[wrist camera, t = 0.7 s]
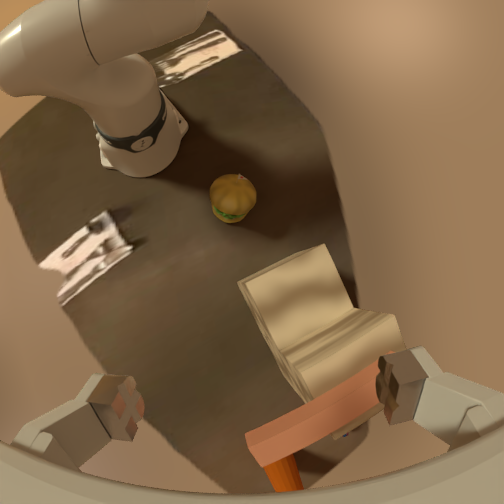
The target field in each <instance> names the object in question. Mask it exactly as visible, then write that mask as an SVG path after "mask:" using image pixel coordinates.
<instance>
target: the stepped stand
mask: <svg viewBox="0 0 504 504" xmlns="http://www.w3.org/2000/svg"><path fill="white" fill-rule="evenodd" d="M237 284H238V286H239V288H240V290H241V292H242V294H243V296H244V298H245V300H246V302H247V304H248V306H249V308H250V310H251V312H252V314H253V316H254V318H255V320H256V322H257V324H258V326H259V328H260V330H261V332H262V334H263V336H264V338H265V340H266V342H267V344H268V346H269V348H270V350H271V352H272V354H273V356H274V358H275V360H276V362H277V364H278V366H279V367H280V369H281V371H282V373H283V375H284V377H285V378H286V379H287V381H288V382H289V383H290V385H291V386H292V387H293V388H294V390H295V391H296V392H297V394H298V395H299V396H300V398H301V399H302V400H303V401H304V403H305V404H306V403H308V402H310V401H312V400H313V399H315V398H317V397H319V396H321V395H322V394H324V393H326V392H327V391H329V390H331V389H333V388H334V387H336V386H338V385H339V384H341V383H342V382H344V381H346V380H347V379H349V378H351V377H352V376H354V375H355V374H357V373H358V372H360V371H361V370H363V369H364V368H366V367H368V366H369V365H370V364H372V363H373V362H375V361H376V360H378V359H379V357H380V356H382V355H385V354H386V353H388V352H389V351H393V352H400V351H404V350H406V347H405V344H404V341H403V338H402V335H401V332H400V330H399V327H398V324H397V322H396V319H395V316H394V315H392V314H386V313H379V312H374V311H368V310H363V309H357V308H353V305H352V303H351V301H350V298H349V296H348V294H347V292H346V289H345V287H344V285H343V283H342V280H341V278H340V276H339V274H338V271H337V269H336V267H335V265H334V263H333V261H332V258H331V256H330V254H329V252H328V250H327V248H326V246H325V244H322V245H319V246H316V247H313V248H310V249H307V250H304V251H301V252H298V253H295V254H293V255H291V256H289V257H287V258H285V259H283V260H281V261H279V262H277V263H275V264H273V265H271V266H269V267H267V268H265V269H263V270H261V271H259V272H256V273H254V274H252V275H250V276H248V277H246V278H244V279H242V280H240V281H238V282H237ZM384 407H385V405H383V404H382V403H380V402H379V403H378V404H376V405H375V406H373V407H372V408H370V409H369V410H367V411H366V412H364V413H363V414H361V415H360V416H358V417H357V418H355V419H353V420H352V421H350V422H349V423H347V424H345V425H344V426H342V427H340V428H339V429H337V430H335V431H333V432H332V433H330V435H331V436H332V438H333V439H334V440H336V439H338V438H339V437H341V436H343V435H345V434H346V433H348V432H349V431H351V430H353V429H354V428H356V427H358V426H359V425H361V424H362V423H364V422H365V421H367V420H368V419H370V418H371V417H373V416H374V415H376V414H377V413H379V412H380V411H381V410H383V409H384Z"/></svg>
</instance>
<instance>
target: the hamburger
mask: <svg viewBox="0 0 504 504" xmlns="http://www.w3.org/2000/svg"><path fill="white" fill-rule="evenodd" d="M209 194H210V200H211V203H212V209H213V213H214V214H215V215H216V217H217V218H219V219H220V220H222V221H223V222H226V223H235V222H239V221H241V220H242V219H243V218H244V217H245V216H246V215H247V213H248V212H249V211H250V210H251V209H252V208H253V207H254V205H255V203H256V190H255V188H254V186H253V184H252V183H251V182H250V181H249V180H248V179H246V178H245V177H243V176H242V175H240V173H239V175H237V174H226V175H223V176H221V177H219V178H217V179H216V180H215V181H214V182H213V184H212V185H211V187H210V191H209Z"/></svg>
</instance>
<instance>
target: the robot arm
mask: <svg viewBox="0 0 504 504" xmlns="http://www.w3.org/2000/svg"><path fill="white" fill-rule="evenodd" d="M208 6H209V0H45V1H43V2H41V3H39V4H37V5H35V6H33V7H31V8H29V9H28V10H26V11H25V12H24V13H22V14H21V15H20V16H19V17H17V18H16V19H15V20H14V21H12V22H11V23H10V24H9V25H8V26H7V27H5V28H4V29H3V30H2V31H1V32H0V89H1V90H2V91H3V92H5V93H6V94H8V95H10V96H13V97H20V96H30V95H42V96H49V97H55V98H59V99H62V100H65V101H68V102H71V103H74V104H76V105H78V106H80V107H81V108H83V109H84V110H85V111H86V112H87V113H88V115H89V116H90V117H91V118H92V119H93V124H94V127H95V129H96V130H97V131H98V134H96V138H97V140H98V141H100V144H99V147H100V154H101V163H102V165H103V167H104V168H107V169H116V170H119V171H120V172H122V173H124V174H126V175H128V176H132V177H147V176H151V175H154V174H156V173H158V172H160V171H162V170H163V169H164V168H166V167H167V166H168V165H169V164H170V163H171V162H172V161H173V159H174V158H175V156H176V154H177V152H178V149H179V146H180V142H181V139H182V137H183V136H184V135H185V133H186V132H187V130H188V128H189V126H188V123H187V122H186V120H185V119H184V118H183V117H182V116H181V114H180V113H179V112H178V111H177V109H176V108H175V107H174V106H173V104H172V103H171V102H170V101H169V100H168V98H167V97H166V96H165V95H164V94H163V92H162V91H161V90H160V89H159V87H158V84H157V80H156V75H155V71H154V69H153V67H152V65H151V64H150V63H149V62H148V61H147V60H146V59H145V58H143V57H142V56H140V55H138V54H136V53H139V52H142V51H145V50H149V49H153V48H156V47H159V46H161V45H164V44H166V43H168V42H171V41H173V40H176V39H178V38H181V37H183V36H185V35H188V34H190V33H193V32H195V31H196V29H197V28H198V27H199V26H200V24H201V23H202V21H203V19H204V18H205V15H206V13H207V10H208ZM179 122H181V123H180V124H179ZM105 157H106V158H105ZM378 368H379V370H380V372H379V373H378V375H377V376H376V383H375V386H376V394H377V397H378V400H379V402H380V403H382V404H383V405H385V407H384V414H385V416H386V418H387V421H388V423H389V425H394V424H397V423H402V422H406V421H409V420H413V419H414V420H413V421H415V422H416V423H418V424H419V425H420V426H422V427H423V428H425V429H426V430H428V431H429V432H431V433H432V434H434V435H435V436H437V437H438V438H440V439H441V440H443V441H444V442H446V443H447V444H449V445H450V448H449V450H448V451H447V453H445V454H442V455H440V456H437V457H434V458H432V459H429V460H426V461H424V462H421V463H418V464H415V465H412V466H409V467H406V468H403V469H400V470H396V471H393V472H389V473H386V474H382V475H378V476H374V477H370V478H366V479H362V480H357V481H354V482H349V483H343V484H338V485H332V486H327V487H320V488H313V489H305V490H296V491H286V492H274V493H253V494H217V493H197V492H185V491H175V490H166V489H159V488H152V487H146V486H139V485H134V484H129V483H124V482H119V481H115V480H110V479H106V478H102V477H98V476H94V475H91V474H87V473H83V472H82V471H81V470H80V469H79V467H80V466H81V465H82V464H84V463H85V462H86V461H87V460H89V459H90V458H91V457H92V456H93V455H95V454H96V453H97V452H98V451H99V450H100V449H102V448H103V447H104V446H105V445H107V444H108V443H109V442H110V441H111V439H115V440H123V441H133V439H134V436H135V434H136V432H137V429H138V427H137V425H136V423H137V422H138V421H140V420H141V419H142V417H143V414H144V401H143V398H142V396H141V394H140V393H139V392H137V391H136V390H135V388H136V382H135V380H134V378H133V377H131V376H124V375H112V374H99V373H95V374H92V376H91V377H90V378H89V380H88V381H87V383H86V384H85V386H84V387H83V388H82V390H81V391H80V393H79V394H78V396H77V397H76V398H75V400H70V401H68V402H66V403H64V404H62V405H61V406H59V407H57V408H55V409H53V410H51V411H50V412H48V413H46V414H44V415H42V416H40V417H38V418H36V419H34V420H32V421H31V422H28V423H27V424H25V425H24V426H23V428H22V429H21V430H20V432H19V433H18V434H17V436H16V437H15V439H14V440H13V441H12V443H11V444H10V445H9V444H7V443H5V442H3V441H1V440H0V504H504V394H503V393H501V392H498V391H496V390H493V389H490V388H487V387H485V386H482V385H480V384H477V383H475V382H472V381H469V380H467V379H464V378H462V377H459V376H456V375H454V374H451V373H449V372H445V373H443V372H442V370H441V369H440V368H439V366H438V365H437V364H436V362H435V361H434V360H433V358H432V357H431V356H430V355H429V353H428V352H427V351H426V350H425V348H424V347H422V346H418V347H414V348H410V349H408V350H404V351H400V352H395V353H391V354H387V355H382V356H380V357H379V360H378Z"/></svg>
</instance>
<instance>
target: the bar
mask: <svg viewBox="0 0 504 504" xmlns="http://www.w3.org/2000/svg"><path fill="white" fill-rule="evenodd" d="M391 353H395V352H393V351H389V352H388V353H386V354H385V355H387V354H391ZM378 360H379V359H378ZM378 360H376V361H375V362H373V363H372V364H370V365H369V366H368V367H366V368H364V369H363V370H361V371H360V372H358V373H357V374H355V375H354V376H352V377H351V378H349V379H347V380H346V381H344V382H342V383H341V384H339V385H338V386H336V387H334V388H333V389H331V390H329V391H327V392H326V393H324V394H322V395H321V396H319V397H317V398H315V399H313V400H312V401H310V402H308V403H306V404H304V405H303V406H301V407H299V408H297V409H295V410H293V411H291V412H289V413H287V414H285V415H283V416H281V417H279V418H277V419H275V420H273V421H271V422H269V423H267V424H265V425H263V426H261V427H258V428H256V429H254V430H252V431H250V432H247V433H245V437H246V441H247V446H248V449H249V450H250V452H251V453H252V454H253V456H254V457H255V459H256V460H257V462H258V463H259V465H260V466H261V467H264V466H266V465H269V464H271V463H273V462H275V461H278V460H280V459H282V458H284V457H286V456H288V455H290V454H292V453H294V452H296V451H298V450H300V449H302V448H304V447H306V446H308V445H310V444H312V443H314V442H316V441H317V440H319V439H321V438H323V437H325V436H326V435H328V434H330V433H332V432H333V431H335V430H337V429H339V428H340V427H342V426H344V425H345V424H347V423H349V422H350V421H352V420H353V419H355V418H357V417H358V416H360V415H361V414H363V413H364V412H366V411H367V410H369V409H370V408H372V407H373V406H375V405H376V404H378V403H379V400H378V397H377V394H376V386H375V383H376V376H377V375H378V373H379V372H380V370H379V368H378Z"/></svg>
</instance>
